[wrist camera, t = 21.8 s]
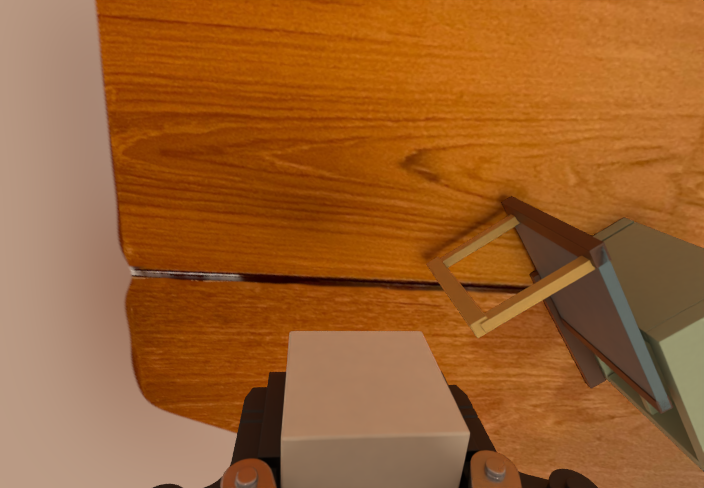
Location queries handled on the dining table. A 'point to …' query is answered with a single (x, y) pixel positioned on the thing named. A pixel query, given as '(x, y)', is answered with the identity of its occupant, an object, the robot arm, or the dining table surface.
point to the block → (368, 413)
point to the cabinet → (656, 326)
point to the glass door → (564, 294)
